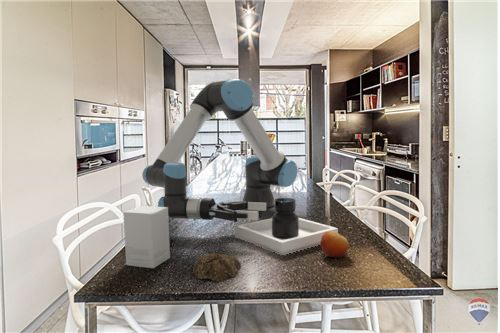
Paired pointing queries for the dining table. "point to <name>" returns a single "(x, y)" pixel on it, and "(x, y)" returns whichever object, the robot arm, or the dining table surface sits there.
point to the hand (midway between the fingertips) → (262, 211)
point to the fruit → (334, 244)
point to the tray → (263, 237)
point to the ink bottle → (285, 219)
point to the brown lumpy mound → (216, 267)
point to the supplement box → (146, 236)
